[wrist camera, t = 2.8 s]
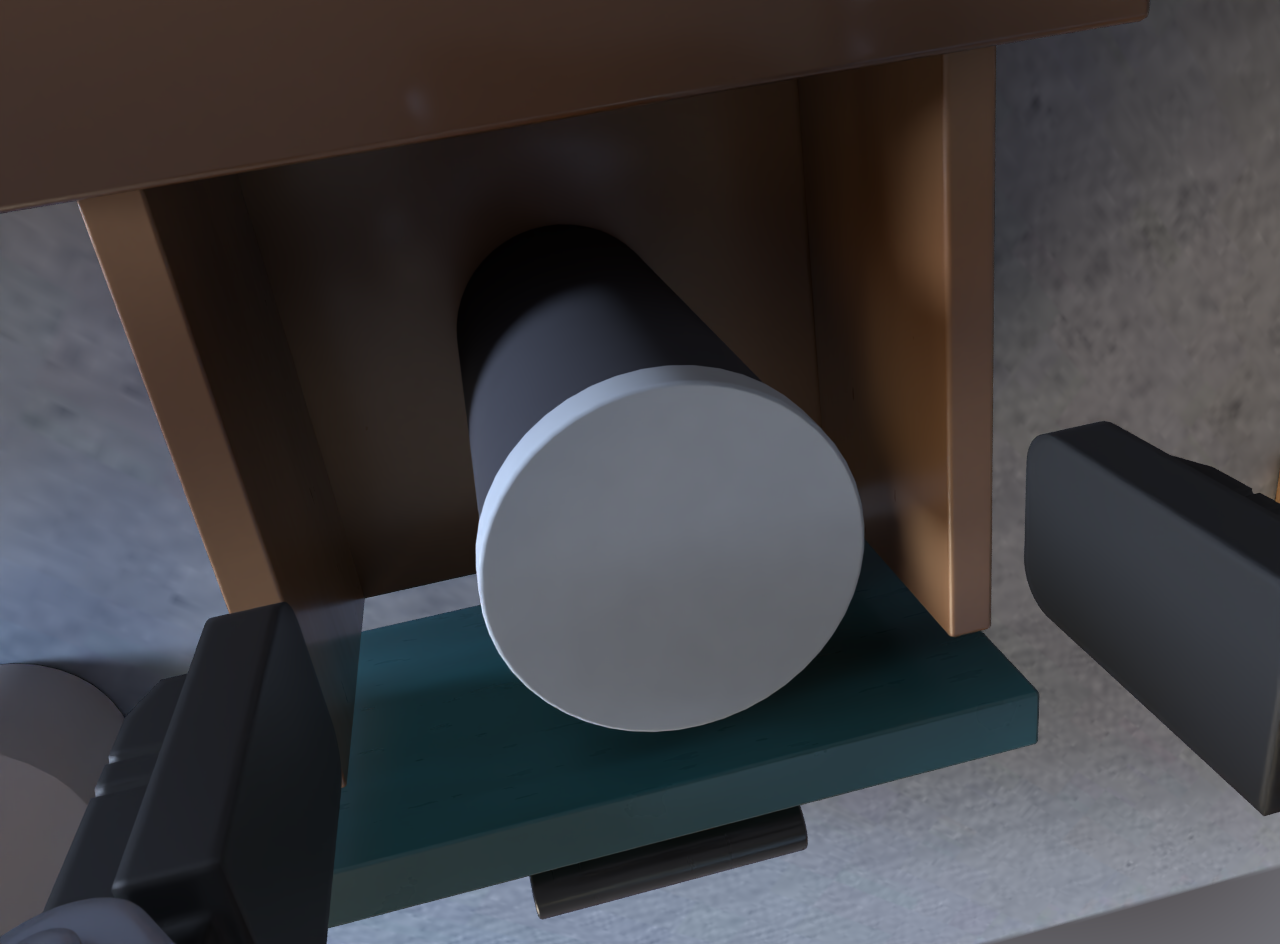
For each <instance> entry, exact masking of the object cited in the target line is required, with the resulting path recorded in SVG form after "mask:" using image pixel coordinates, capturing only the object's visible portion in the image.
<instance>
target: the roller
mask: <svg viewBox="0 0 1280 944" xmlns="http://www.w3.org/2000/svg"><path fill="white" fill-rule="evenodd" d="M457 343H458V351H459V359H460V368H461V376H462V384H463V392H464V400H465V408H466V416H467V424H468V432H469V441H470V449H471V457H472V465H473V473H474V481H475V489H476V497H477V505H478V514H479V525H478V533H477V540H476V572H477V581H478V590H479V596H480V603H481V609H482V614H483V617H484V620H485V623H486V626H487V629H488V632H489V635H490V637H491V639H492V641H493V642H494V644H495V646H496V648H497V650H498V652H499V654H500V656H501V657H502V658H503V660H504V661H505V663H506V664H507V665H508V667H509V668H510V669H511V671H512V672H513V673H514V674H515V675H516V676H517V677H518V678H519V679H520V680H521V681H522V682H523V683H524V685H525V686H526V687H527V688H529V689H530V690H531V691H532V692H534V693H535V694H536V695H538V696H539V697H540V698H542V699H543V700H544V701H545V702H547V703H548V704H550V705H552V706H554V707H555V708H557V709H559V710H561V711H562V712H564V713H566V714H568V715H571V716H573V717H576V718H578V719H581V720H583V721H586V722H589V723H592V724H596V725H600V726H604V727H607V728H613V729H620V730H627V731H645V732H658V731H670V730H680V729H685V728H690V727H695V726H700V725H704V724H707V723H711V722H714V721H717V720H720V719H724V718H726V717H728V716H731V715H733V714H736V713H738V712H740V711H743V710H745V709H747V708H749V707H751V706H753V705H754V704H756V703H758V702H760V701H762V700H763V699H765V698H767V697H768V696H770V695H771V694H773V693H774V692H776V691H777V690H779V689H780V688H781V687H783V686H784V685H786V684H787V683H788V682H789V681H790V680H792V679H793V678H794V677H795V676H796V675H797V674H799V673H800V672H801V671H802V670H803V669H804V668H805V667H806V666H807V665H808V664H809V663H810V662H811V661H812V660H813V659H814V658H815V657H816V656H817V654H818V653H819V652H820V651H821V650H822V648H823V647H824V646H825V644H826V643H827V642H828V640H829V639H830V638H831V636H832V635H833V634H834V632H835V630H836V629H837V627H838V625H839V624H840V622H841V620H842V618H843V617H844V615H845V613H846V611H847V609H848V606H849V604H850V602H851V599H852V597H853V595H854V592H855V589H856V586H857V582H858V579H859V575H860V572H861V566H862V560H863V553H864V518H863V510H862V503H861V499H860V496H859V492H858V489H857V485H856V482H855V480H854V477H853V475H852V473H851V471H850V468H849V466H848V464H847V462H846V460H845V459H844V457H843V456H842V454H841V453H840V451H839V450H838V448H837V446H836V445H835V443H834V442H833V441H832V440H831V439H830V438H829V437H828V436H827V434H826V433H825V432H824V431H823V430H822V429H821V428H820V427H819V426H818V425H817V424H816V423H815V422H814V421H813V420H812V419H811V418H810V417H809V416H808V415H807V414H806V413H805V412H804V411H803V410H802V409H801V408H800V407H798V406H797V405H796V404H795V403H793V402H792V401H791V400H790V399H789V398H787V397H786V396H785V395H783V394H781V393H780V392H778V391H776V390H775V389H773V388H771V387H770V386H768V385H766V384H764V383H763V382H762V381H761V380H760V379H759V378H758V377H757V376H756V375H755V374H754V373H753V372H752V371H751V370H750V369H749V368H748V367H747V366H746V365H745V364H744V363H743V361H742V360H741V359H740V358H739V357H738V356H737V355H736V354H735V353H734V352H733V351H732V350H731V349H730V348H729V347H728V346H727V345H726V344H725V343H724V342H723V341H722V340H721V339H720V338H719V337H718V336H717V335H716V334H715V333H714V332H713V331H712V330H711V329H710V328H709V327H708V326H707V325H706V324H705V323H704V322H703V321H702V320H701V319H700V318H699V317H698V316H697V315H696V314H695V313H694V312H693V311H692V310H691V309H690V308H689V306H688V305H687V304H686V303H685V302H684V301H683V300H682V299H681V298H680V297H679V296H678V295H677V294H676V293H675V292H674V291H673V290H672V289H671V288H670V287H669V286H668V285H667V284H666V283H665V282H664V281H663V280H662V279H661V278H660V277H659V276H658V275H657V274H656V273H655V272H654V271H653V270H652V269H651V268H650V267H649V266H648V265H647V264H646V263H645V262H644V261H643V260H642V259H641V258H640V257H639V256H638V255H637V254H636V253H635V252H634V251H633V250H632V249H631V248H629V247H628V246H627V245H626V244H624V243H623V242H621V241H620V240H618V239H616V238H615V237H613V236H611V235H609V234H607V233H604V232H602V231H599V230H596V229H593V228H589V227H585V226H578V225H564V224H558V225H549V226H543V227H539V228H535V229H531V230H528V231H526V232H523V233H521V234H518V235H516V236H514V237H513V238H511V239H509V240H507V241H506V242H504V243H503V244H501V245H500V246H499V247H497V248H496V249H495V250H493V251H492V252H491V253H490V254H489V255H488V256H487V257H486V258H485V259H484V260H483V261H482V263H481V264H480V265H479V266H478V268H477V269H476V270H475V272H474V273H473V275H472V277H471V278H470V280H469V282H468V284H467V286H466V288H465V291H464V293H463V296H462V298H461V302H460V306H459V310H458V317H457Z"/></svg>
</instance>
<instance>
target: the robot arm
mask: <svg viewBox="0 0 1280 944" xmlns="http://www.w3.org/2000/svg"><path fill="white" fill-rule="evenodd" d="M1024 564H1025V572H1026V577H1027V581H1028V584H1029V587H1030V590H1031V592H1032V594H1033V596H1034V599H1035V601H1036V602H1037V604H1038V606H1039V607H1040V608H1041V610H1042V611H1043V612H1044V613H1045V614H1046V616H1047V617H1048V618H1050V619H1051V620H1052V621H1053V622H1054V623H1055V624H1056V625H1057V626H1058V627H1059V628H1060V629H1061V630H1063V631H1064V632H1065V633H1066V634H1067V635H1068V636H1069V637H1070V638H1071V639H1072V640H1073V641H1074V642H1076V643H1077V644H1078V645H1079V646H1080V647H1081V648H1082V649H1083V650H1084V651H1085V652H1086V653H1087V654H1089V655H1090V656H1091V657H1092V658H1093V659H1094V660H1095V661H1096V662H1097V663H1098V664H1099V665H1101V666H1102V667H1103V668H1104V669H1105V670H1106V671H1107V672H1108V673H1109V674H1110V675H1111V676H1112V677H1114V678H1115V679H1116V680H1117V681H1118V682H1119V683H1120V684H1121V685H1122V686H1123V687H1124V688H1125V689H1127V690H1128V691H1129V692H1130V693H1131V694H1132V695H1133V696H1134V697H1135V698H1136V699H1137V700H1138V701H1140V702H1141V703H1142V704H1143V705H1144V706H1145V707H1146V708H1147V709H1148V710H1149V711H1150V712H1151V713H1153V714H1154V715H1155V716H1156V717H1157V718H1158V719H1159V720H1160V721H1161V722H1162V723H1163V724H1164V725H1166V726H1167V727H1168V728H1169V729H1170V730H1171V731H1172V732H1173V733H1174V734H1175V735H1176V736H1177V737H1179V738H1180V739H1181V740H1182V741H1183V742H1184V743H1185V744H1186V745H1187V746H1188V747H1189V748H1191V749H1192V750H1193V751H1194V752H1195V753H1196V754H1197V755H1198V756H1199V757H1200V758H1201V759H1202V760H1204V761H1205V762H1206V763H1207V764H1208V765H1209V766H1210V767H1211V768H1212V769H1213V770H1214V771H1215V772H1217V773H1218V774H1219V775H1220V776H1221V777H1222V778H1223V779H1224V780H1225V781H1226V782H1227V783H1228V784H1230V785H1231V786H1232V787H1233V788H1234V789H1235V790H1236V791H1237V792H1238V793H1239V794H1240V795H1241V796H1243V797H1244V798H1245V799H1246V800H1247V801H1248V802H1249V803H1250V804H1251V805H1252V806H1253V807H1254V808H1256V809H1257V810H1258V811H1259V812H1260V813H1261V814H1262V815H1263V816H1266V815H1270V814H1273V813H1277V812H1280V504H1279V503H1278V502H1276V501H1274V500H1272V499H1270V498H1268V497H1267V496H1265V495H1263V494H1261V493H1257V494H1253V492H1252V488H1250V487H1248V486H1246V485H1245V484H1243V483H1241V482H1239V481H1237V480H1235V479H1234V478H1232V477H1230V476H1228V475H1226V474H1224V473H1223V472H1221V471H1219V470H1217V469H1215V468H1213V467H1210V466H1207V465H1203V464H1200V463H1196V462H1193V461H1189V460H1186V459H1182V458H1179V457H1175V456H1172V455H1169V454H1167V453H1165V452H1163V451H1162V450H1160V449H1158V448H1156V447H1155V446H1153V445H1151V444H1149V443H1147V442H1146V441H1144V440H1142V439H1140V438H1138V437H1137V436H1135V435H1133V434H1131V433H1130V432H1128V431H1126V430H1124V429H1122V428H1121V427H1119V426H1117V425H1115V424H1113V423H1111V422H1107V421H1101V422H1096V423H1091V424H1087V425H1082V426H1078V427H1073V428H1069V429H1065V430H1060V431H1056V432H1051V433H1047V434H1042V435H1039V436H1037V437H1036V438H1035V439H1034V440H1033V441H1032V443H1031V444H1030V447H1029V450H1028V454H1027V467H1026V508H1025V548H1024ZM108 758H109V764H106V765H105V766H104V768H103V770H102V773H101V775H100V777H99V780H98V782H97V785H96V787H95V789H94V791H95V798H91V799H90V801H89V803H88V806H87V808H86V811H85V813H84V815H83V818H82V820H81V822H80V825H79V827H78V829H77V832H76V834H75V837H74V839H73V841H72V844H71V846H70V848H69V851H68V853H67V855H66V858H65V860H64V863H63V865H62V867H61V870H60V872H59V874H58V877H57V879H56V881H55V884H54V886H53V889H52V891H51V893H50V896H49V898H48V900H47V903H46V905H45V907H44V910H43V912H42V913H41V914H39V915H37V916H35V917H33V918H31V919H29V920H27V921H25V922H23V923H21V924H20V925H18V926H16V927H15V928H13V929H11V930H10V931H8V932H6V933H5V934H4V935H2V936H1V937H0V944H326V943H327V932H328V922H329V912H330V901H331V891H332V881H333V870H334V860H335V850H336V839H337V829H338V819H339V808H340V798H341V787H342V773H341V761H340V754H339V748H338V742H337V738H336V733H335V730H334V726H333V723H332V720H331V717H330V714H329V711H328V708H327V705H326V702H325V699H324V696H323V693H322V690H321V687H320V684H319V681H318V678H317V675H316V672H315V669H314V666H313V663H312V660H311V658H310V655H309V652H308V649H307V646H306V643H305V640H304V637H303V634H302V631H301V628H300V625H299V622H298V620H297V617H296V615H295V613H294V611H293V609H292V607H291V606H290V605H289V604H288V603H287V602H280V603H276V604H271V605H267V606H262V607H258V608H253V609H249V610H244V611H240V612H235V613H231V614H226V615H222V616H217V617H213V618H210V619H208V620H207V621H206V623H205V626H204V628H203V631H202V634H201V637H200V640H199V642H198V645H197V648H196V651H195V654H194V657H193V659H192V662H191V665H190V668H189V671H188V673H187V674H184V675H180V676H175V677H171V678H167V679H162V680H160V681H159V682H158V683H157V684H156V686H155V687H154V688H153V689H152V690H151V691H150V692H149V693H148V694H147V695H146V696H145V697H144V698H143V699H142V700H141V701H140V702H139V703H138V704H137V705H136V707H135V708H134V709H133V710H132V711H131V712H130V713H129V714H128V715H127V716H126V717H125V718H124V721H123V723H122V725H121V728H120V730H119V733H118V735H117V737H116V740H115V742H114V744H113V747H112V749H111V751H110V754H109V756H108Z"/></svg>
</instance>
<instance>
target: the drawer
mask: <svg viewBox="0 0 1280 944" xmlns="http://www.w3.org/2000/svg"><path fill="white" fill-rule="evenodd" d="M995 108H996V46H990V47H984V48H978V49H972V50H966V51H960V52H954V53H949V54H943V55H937V56H931V57H925V58H919V59H913V60H907V61H901V62H895V63H889V64H883V65H877V66H872V67H866V68H860V69H854V70H848V71H842V72H836V73H830V74H824V75H818V76H812V77H806V78H801V79H795V80H789V81H783V82H777V83H771V84H765V85H759V86H753V87H747V88H741V89H735V90H729V91H724V92H718V93H712V94H706V95H700V96H694V97H688V98H682V99H676V100H670V101H664V102H658V103H652V104H647V105H641V106H635V107H629V108H623V109H617V110H611V111H605V112H599V113H593V114H587V115H581V116H575V117H570V118H564V119H558V120H552V121H546V122H540V123H534V124H528V125H522V126H516V127H510V128H504V129H498V130H493V131H487V132H481V133H475V134H469V135H463V136H457V137H451V138H445V139H439V140H433V141H427V142H421V143H416V144H410V145H404V146H398V147H392V148H386V149H380V150H374V151H368V152H362V153H356V154H350V155H344V156H339V157H333V158H327V159H321V160H315V161H309V162H303V163H297V164H291V165H285V166H279V167H273V168H267V169H262V170H256V171H250V172H244V173H238V174H232V175H226V176H220V177H214V178H208V179H202V180H196V181H190V182H185V183H179V184H173V185H167V186H161V187H155V188H149V189H143V190H137V191H131V192H125V193H119V194H113V195H108V196H102V197H96V198H90V199H84V200H78V201H77V204H78V207H79V209H80V212H81V215H82V218H83V220H84V223H85V226H86V228H87V231H88V234H89V236H90V239H91V242H92V244H93V247H94V250H95V253H96V255H97V258H98V261H99V263H100V266H101V269H102V271H103V274H104V277H105V279H106V282H107V285H108V288H109V290H110V293H111V296H112V298H113V301H114V304H115V306H116V309H117V312H118V315H119V317H120V320H121V323H122V325H123V328H124V331H125V333H126V336H127V339H128V341H129V344H130V347H131V350H132V352H133V355H134V358H135V360H136V363H137V366H138V368H139V371H140V374H141V377H142V379H143V382H144V385H145V387H146V390H147V393H148V395H149V398H150V401H151V403H152V406H153V409H154V412H155V414H156V417H157V420H158V422H159V425H160V428H161V430H162V433H163V436H164V438H165V441H166V444H167V447H168V449H169V452H170V455H171V457H172V460H173V463H174V465H175V468H176V471H177V474H178V476H179V479H180V482H181V484H182V487H183V490H184V492H185V495H186V498H187V500H188V503H189V506H190V509H191V511H192V514H193V517H194V519H195V522H196V525H197V527H198V530H199V533H200V535H201V538H202V541H203V544H204V546H205V549H206V552H207V554H208V557H209V560H210V562H211V565H212V568H213V571H214V573H215V576H216V579H217V581H218V584H219V587H220V589H221V592H222V595H223V597H224V600H225V603H226V606H227V608H228V611H229V614H231V613H235V612H240V611H244V610H249V609H253V608H258V607H262V606H267V605H271V604H276V603H280V602H287V603H288V604H289V605H290V606H291V607H292V609H293V611H294V613H295V615H296V617H297V620H298V622H299V625H300V628H301V631H302V634H303V637H304V640H305V643H306V646H307V649H308V652H309V655H310V658H311V660H312V663H313V666H314V669H315V672H316V675H317V678H318V681H319V684H320V687H321V690H322V693H323V696H324V699H325V702H326V705H327V708H328V711H329V714H330V717H331V720H332V723H333V726H334V730H335V733H336V738H337V742H338V748H339V754H340V761H341V773H342V787H341V798H340V808H339V819H338V829H337V839H336V850H335V860H334V870H333V881H332V891H331V901H330V912H329V922H328V928H331V927H335V926H339V925H343V924H347V923H351V922H354V921H358V920H362V919H366V918H370V917H374V916H377V915H381V914H385V913H389V912H393V911H397V910H400V909H404V908H408V907H412V906H416V905H419V904H423V903H427V902H431V901H435V900H439V899H442V898H446V897H450V896H454V895H458V894H462V893H465V892H469V891H473V890H477V889H481V888H485V887H488V886H492V885H496V884H500V883H504V882H508V881H511V880H515V879H519V878H523V877H527V876H529V877H530V883H531V888H532V893H533V898H534V902H535V906H536V910H537V914H538V916H539V918H540V919H546V918H550V917H554V916H558V915H561V914H565V913H569V912H573V911H576V910H580V909H584V908H588V907H591V906H595V905H599V904H603V903H606V902H610V901H614V900H618V899H621V898H625V897H629V896H632V895H636V894H640V893H644V892H647V891H651V890H655V889H659V888H662V887H666V886H670V885H674V884H677V883H681V882H685V881H689V880H692V879H696V878H700V877H704V876H707V875H711V874H715V873H719V872H722V871H726V870H730V869H734V868H737V867H741V866H745V865H749V864H752V863H756V862H760V861H764V860H767V859H771V858H775V857H779V856H782V855H786V854H790V853H794V852H797V851H801V850H805V849H806V848H807V845H808V837H807V830H806V825H805V820H804V817H803V813H802V810H801V807H800V805H803V804H807V803H810V802H814V801H818V800H822V799H826V798H829V797H833V796H837V795H841V794H845V793H849V792H852V791H856V790H860V789H864V788H868V787H872V786H875V785H879V784H883V783H887V782H891V781H895V780H898V779H902V778H906V777H910V776H914V775H918V774H921V773H925V772H929V771H933V770H937V769H941V768H944V767H948V766H952V765H956V764H960V763H964V762H967V761H971V760H975V759H979V758H983V757H987V756H990V755H994V754H998V753H1002V752H1006V751H1010V750H1013V749H1017V748H1021V747H1025V746H1029V745H1033V744H1036V743H1037V741H1038V720H1039V692H1038V691H1037V690H1036V688H1035V687H1034V686H1033V685H1032V684H1031V683H1030V682H1029V681H1028V680H1027V679H1026V678H1025V677H1024V676H1023V675H1022V674H1021V673H1020V671H1019V670H1018V669H1017V668H1016V667H1015V666H1014V665H1013V664H1012V663H1011V662H1010V661H1009V660H1008V659H1007V658H1006V657H1005V655H1004V654H1003V653H1002V652H1001V651H1000V650H999V649H998V648H997V647H996V646H995V645H994V644H993V643H992V642H991V641H990V640H989V638H988V637H987V636H986V635H985V634H984V633H983V632H982V631H981V630H985V629H988V628H990V626H991V569H992V454H993V339H994V223H995ZM558 224H564V225H578V226H585V227H589V228H593V229H596V230H599V231H602V232H604V233H607V234H609V235H611V236H613V237H615V238H616V239H618V240H620V241H621V242H623V243H624V244H626V245H627V246H628V247H629V248H631V249H632V250H633V251H634V252H635V253H636V254H637V255H638V256H639V257H640V258H641V259H642V260H643V261H644V262H645V263H646V264H647V265H648V266H649V267H650V268H651V269H652V270H653V271H654V272H655V273H656V274H657V275H658V276H659V277H660V278H661V279H662V280H663V281H664V282H665V283H666V284H667V285H668V286H669V287H670V288H671V289H672V290H673V291H674V292H675V293H676V294H677V295H678V296H679V297H680V298H681V299H682V300H683V301H684V302H685V303H686V304H687V305H688V306H689V308H690V309H691V310H692V311H693V312H694V313H695V314H696V315H697V316H698V317H699V318H700V319H701V320H702V321H703V322H704V323H705V324H706V325H707V326H708V327H709V328H710V329H711V330H712V331H713V332H714V333H715V334H716V335H717V336H718V337H719V338H720V339H721V340H722V341H723V342H724V343H725V344H726V345H727V346H728V347H729V348H730V349H731V350H732V351H733V352H734V353H735V354H736V355H737V356H738V357H739V358H740V359H741V360H742V361H743V363H744V364H745V365H746V366H747V367H748V368H749V369H750V370H751V371H752V372H753V373H754V374H755V375H756V376H757V377H758V378H759V379H760V380H761V381H762V382H763V383H764V384H766V385H768V386H770V387H771V388H773V389H775V390H776V391H778V392H780V393H781V394H783V395H785V396H786V397H787V398H789V399H790V400H791V401H792V402H793V403H795V404H796V405H797V406H798V407H800V408H801V409H802V410H803V411H804V412H805V413H806V414H807V415H808V416H809V417H810V418H811V419H812V420H813V421H814V422H815V423H816V424H817V425H818V426H819V427H820V428H821V429H822V430H823V431H824V432H825V433H826V434H827V436H828V437H829V438H830V439H831V440H832V441H833V442H834V443H835V445H836V446H837V448H838V450H839V451H840V453H841V454H842V456H843V457H844V459H845V460H846V462H847V464H848V466H849V468H850V471H851V473H852V475H853V477H854V480H855V482H856V485H857V489H858V492H859V496H860V499H861V503H862V510H863V518H864V553H863V560H862V566H861V572H860V575H859V579H858V582H857V586H856V589H855V592H854V595H853V597H852V599H851V602H850V604H849V606H848V609H847V611H846V613H845V615H844V617H843V618H842V620H841V622H840V624H839V625H838V627H837V629H836V630H835V632H834V634H833V635H832V636H831V638H830V639H829V640H828V642H827V643H826V644H825V646H824V647H823V648H822V650H821V651H820V652H819V653H818V654H817V656H816V657H815V658H814V659H813V660H812V661H811V662H810V663H809V664H808V665H807V666H806V667H805V668H804V669H803V670H802V671H801V672H800V673H799V674H797V675H796V676H795V677H794V678H793V679H792V680H790V681H789V682H788V683H787V684H786V685H784V686H783V687H781V688H780V689H779V690H777V691H776V692H774V693H773V694H771V695H770V696H768V697H767V698H765V699H763V700H762V701H760V702H758V703H756V704H754V705H753V706H751V707H749V708H747V709H745V710H743V711H740V712H738V713H736V714H733V715H731V716H728V717H726V718H724V719H720V720H717V721H714V722H711V723H707V724H704V725H700V726H695V727H690V728H685V729H680V730H670V731H658V732H645V731H627V730H620V729H613V728H607V727H604V726H600V725H596V724H592V723H589V722H586V721H583V720H581V719H578V718H576V717H573V716H571V715H568V714H566V713H564V712H562V711H561V710H559V709H557V708H555V707H554V706H552V705H550V704H548V703H547V702H545V701H544V700H543V699H542V698H540V697H539V696H538V695H536V694H535V693H534V692H532V691H531V690H530V689H529V688H527V687H526V686H525V685H524V683H523V682H522V681H521V680H520V679H519V678H518V677H517V676H516V675H515V674H514V673H513V672H512V671H511V669H510V668H509V667H508V665H507V664H506V663H505V661H504V660H503V658H502V657H501V656H500V654H499V652H498V650H497V648H496V646H495V644H494V642H493V641H492V639H491V637H490V635H489V632H488V629H487V626H486V623H485V620H484V617H483V614H482V609H481V605H478V606H473V607H469V608H465V609H460V610H456V611H451V612H447V613H442V614H438V615H434V616H429V617H425V618H420V619H416V620H412V621H407V622H403V623H398V624H394V625H389V626H385V627H381V628H376V629H372V630H367V631H363V632H362V621H363V611H364V600H365V598H368V597H373V596H377V595H382V594H386V593H391V592H395V591H400V590H404V589H409V588H413V587H418V586H422V585H427V584H431V583H436V582H440V581H445V580H449V579H454V578H458V577H463V576H467V575H472V574H476V573H477V572H476V540H477V533H478V525H479V514H478V505H477V497H476V489H475V481H474V473H473V465H472V457H471V449H470V441H469V432H468V424H467V416H466V408H465V400H464V392H463V384H462V376H461V368H460V359H459V351H458V343H457V317H458V310H459V306H460V302H461V298H462V296H463V293H464V291H465V288H466V286H467V284H468V282H469V280H470V278H471V277H472V275H473V273H474V272H475V270H476V269H477V268H478V266H479V265H480V264H481V263H482V261H483V260H484V259H485V258H486V257H487V256H488V255H489V254H490V253H491V252H492V251H493V250H495V249H496V248H497V247H499V246H500V245H501V244H503V243H504V242H506V241H507V240H509V239H511V238H513V237H514V236H516V235H518V234H521V233H523V232H526V231H528V230H531V229H535V228H539V227H543V226H549V225H558Z"/></svg>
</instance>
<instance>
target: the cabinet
mask: <svg viewBox="0 0 1280 944" xmlns="http://www.w3.org/2000/svg"><path fill="white" fill-rule="evenodd" d="M1149 6H1150V0H0V214H1V213H7V212H13V211H19V210H25V209H31V208H36V207H42V206H48V205H54V204H60V203H66V202H72V201H78V200H84V199H90V198H96V197H102V196H108V195H113V194H119V193H125V192H131V191H137V190H143V189H149V188H155V187H161V186H167V185H173V184H179V183H185V182H190V181H196V180H202V179H208V178H214V177H220V176H226V175H232V174H238V173H244V172H250V171H256V170H262V169H267V168H273V167H279V166H285V165H291V164H297V163H303V162H309V161H315V160H321V159H327V158H333V157H339V156H344V155H350V154H356V153H362V152H368V151H374V150H380V149H386V148H392V147H398V146H404V145H410V144H416V143H421V142H427V141H433V140H439V139H445V138H451V137H457V136H463V135H469V134H475V133H481V132H487V131H493V130H498V129H504V128H510V127H516V126H522V125H528V124H534V123H540V122H546V121H552V120H558V119H564V118H570V117H575V116H581V115H587V114H593V113H599V112H605V111H611V110H617V109H623V108H629V107H635V106H641V105H647V104H652V103H658V102H664V101H670V100H676V99H682V98H688V97H694V96H700V95H706V94H712V93H718V92H724V91H729V90H735V89H741V88H747V87H753V86H759V85H765V84H771V83H777V82H783V81H789V80H795V79H801V78H806V77H812V76H818V75H824V74H830V73H836V72H842V71H848V70H854V69H860V68H866V67H872V66H877V65H883V64H889V63H895V62H901V61H907V60H913V59H919V58H925V57H931V56H937V55H943V54H949V53H954V52H960V51H966V50H972V49H978V48H984V47H990V46H996V45H1002V44H1008V43H1014V42H1020V41H1026V40H1031V39H1037V38H1043V37H1049V36H1055V35H1061V34H1067V33H1073V32H1079V31H1085V30H1091V29H1097V28H1103V27H1108V26H1114V25H1120V24H1126V23H1132V22H1138V21H1141V20H1143V19H1144V18H1146V17H1147V16H1148V13H1149Z"/></svg>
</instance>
